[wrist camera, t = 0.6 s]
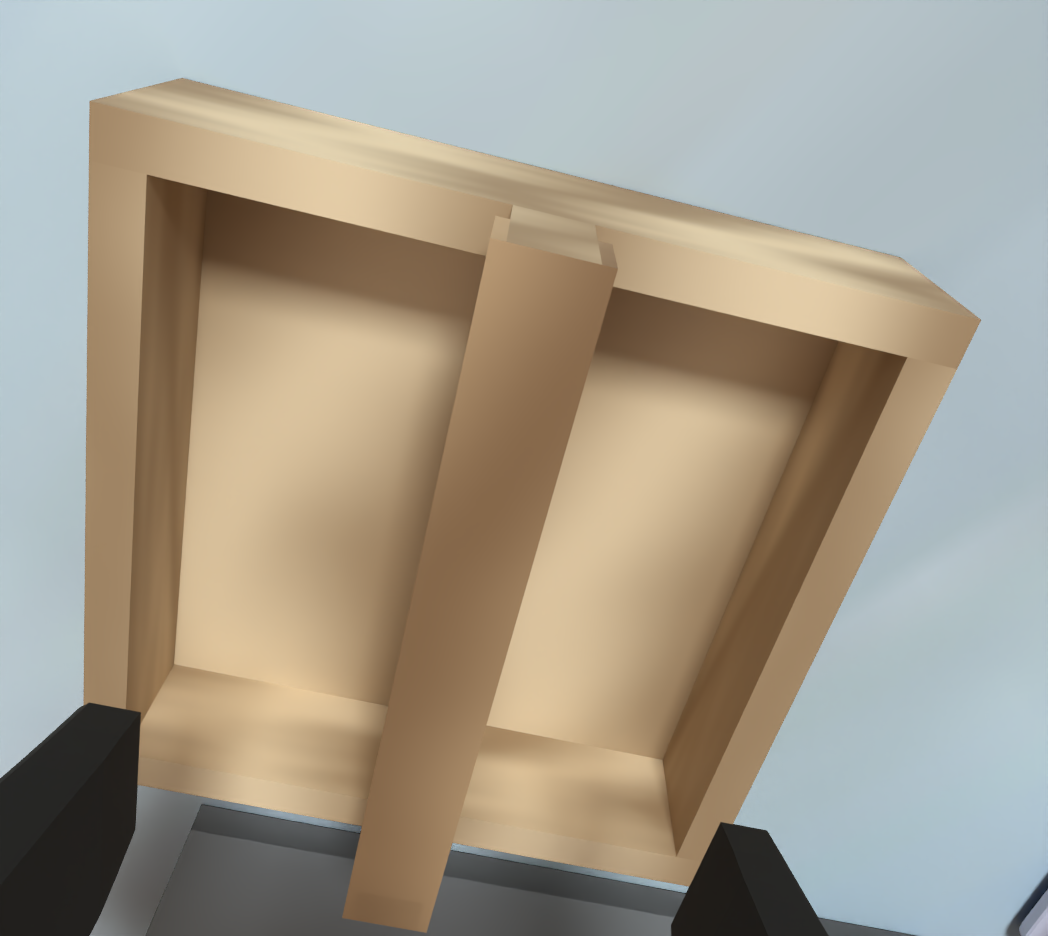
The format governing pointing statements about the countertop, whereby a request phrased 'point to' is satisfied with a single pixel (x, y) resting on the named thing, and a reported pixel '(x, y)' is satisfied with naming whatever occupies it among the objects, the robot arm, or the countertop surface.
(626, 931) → the charcoal crate
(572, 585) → the pine crate
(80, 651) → the countertop surface
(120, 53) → the countertop surface
